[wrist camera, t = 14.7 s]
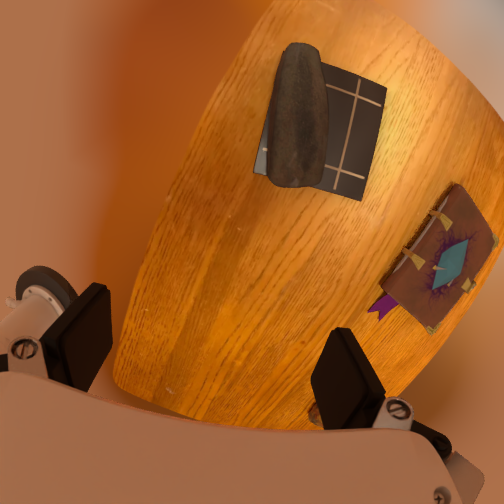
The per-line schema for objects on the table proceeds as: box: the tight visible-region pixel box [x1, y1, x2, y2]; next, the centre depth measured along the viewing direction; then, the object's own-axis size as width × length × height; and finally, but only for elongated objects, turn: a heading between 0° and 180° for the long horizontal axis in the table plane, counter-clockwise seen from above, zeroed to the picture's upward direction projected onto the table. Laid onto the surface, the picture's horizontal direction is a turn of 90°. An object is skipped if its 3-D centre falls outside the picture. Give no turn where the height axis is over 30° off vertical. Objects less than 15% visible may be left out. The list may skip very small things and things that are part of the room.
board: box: [253, 51, 387, 201], centre depth 30 cm, size 14×16×1 cm
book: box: [367, 184, 499, 336], centre depth 36 cm, size 16×25×5 cm, turn 144°
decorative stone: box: [267, 42, 329, 188], centre depth 27 cm, size 17×6×4 cm, turn 178°
